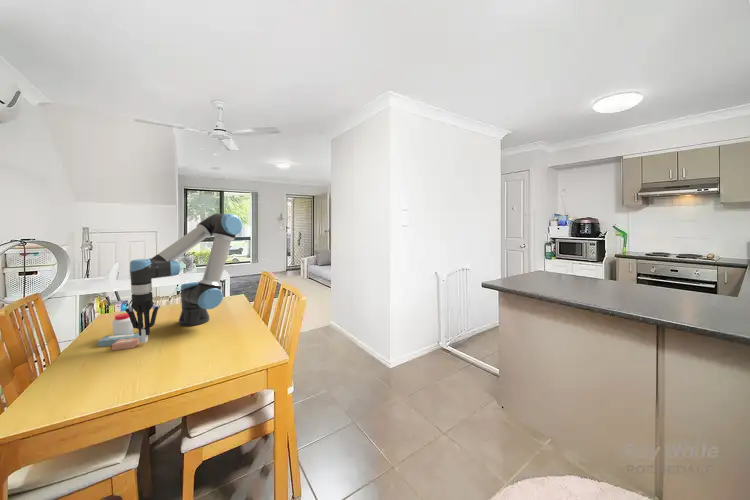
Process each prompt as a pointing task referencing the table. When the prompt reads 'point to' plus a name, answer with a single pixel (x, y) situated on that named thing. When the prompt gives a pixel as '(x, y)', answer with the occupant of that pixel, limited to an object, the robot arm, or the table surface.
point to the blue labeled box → (113, 338)
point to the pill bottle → (122, 324)
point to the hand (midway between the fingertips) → (144, 341)
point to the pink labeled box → (125, 343)
